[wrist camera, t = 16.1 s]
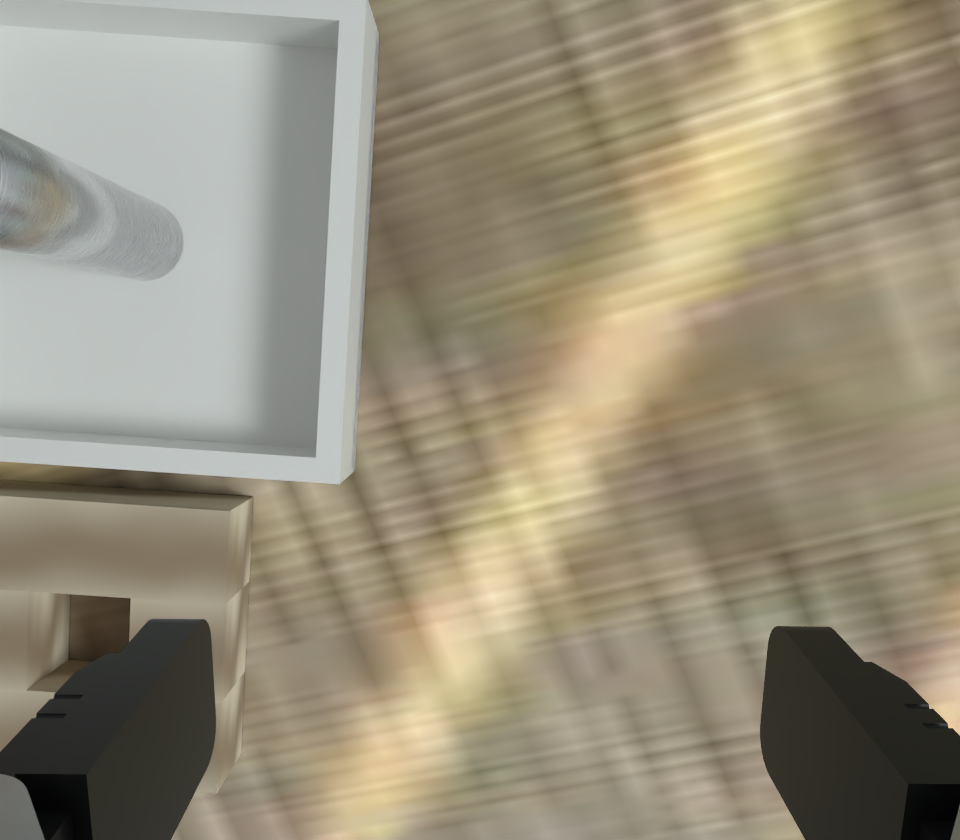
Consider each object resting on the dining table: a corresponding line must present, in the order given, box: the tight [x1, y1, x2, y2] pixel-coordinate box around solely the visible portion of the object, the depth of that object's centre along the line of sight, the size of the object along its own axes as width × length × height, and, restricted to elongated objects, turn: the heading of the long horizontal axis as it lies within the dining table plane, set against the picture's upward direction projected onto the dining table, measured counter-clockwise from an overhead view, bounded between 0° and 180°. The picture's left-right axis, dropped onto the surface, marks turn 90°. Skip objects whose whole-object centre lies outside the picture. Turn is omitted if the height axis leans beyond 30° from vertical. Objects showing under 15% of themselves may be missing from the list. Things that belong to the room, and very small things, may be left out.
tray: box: [0, 0, 379, 484], centre depth 34 cm, size 19×19×4 cm
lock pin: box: [0, 129, 184, 281], centre depth 27 cm, size 5×5×17 cm
